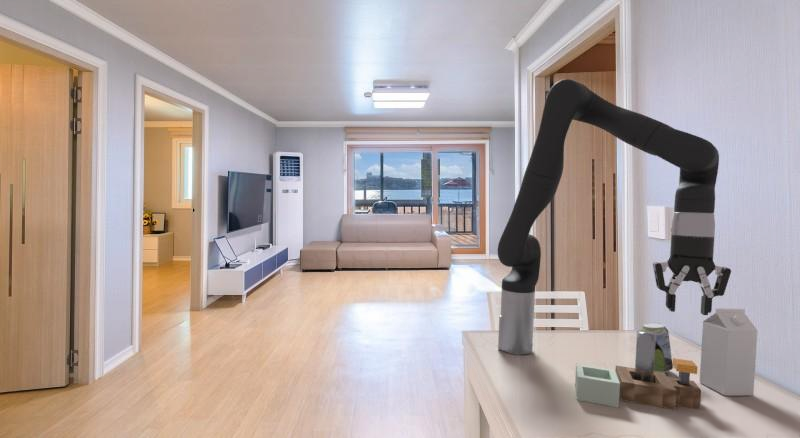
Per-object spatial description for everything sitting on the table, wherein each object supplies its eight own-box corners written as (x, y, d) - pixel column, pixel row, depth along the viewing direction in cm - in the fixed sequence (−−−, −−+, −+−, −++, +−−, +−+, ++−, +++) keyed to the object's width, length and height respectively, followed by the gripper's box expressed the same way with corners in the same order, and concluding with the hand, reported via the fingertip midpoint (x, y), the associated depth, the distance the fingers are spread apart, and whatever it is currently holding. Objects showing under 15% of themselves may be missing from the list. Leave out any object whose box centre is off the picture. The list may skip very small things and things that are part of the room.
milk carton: (699, 382, 100) (703, 304, 99) (726, 382, 100) (731, 305, 100) (724, 396, 93) (729, 312, 92) (753, 396, 93) (759, 312, 93)
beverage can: (676, 376, 103) (679, 329, 102) (644, 373, 104) (647, 326, 104) (666, 367, 109) (668, 322, 109) (635, 364, 110) (638, 319, 110)
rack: (576, 399, 88) (577, 376, 88) (575, 384, 96) (576, 363, 96) (618, 407, 86) (619, 383, 85) (613, 391, 93) (614, 369, 93)
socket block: (621, 400, 89) (622, 381, 89) (614, 382, 98) (615, 365, 98) (704, 414, 84) (705, 395, 84) (689, 394, 93) (690, 376, 93)
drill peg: (635, 396, 91) (638, 333, 90) (632, 390, 94) (635, 329, 94) (654, 399, 90) (657, 336, 89) (650, 393, 93) (653, 331, 92)
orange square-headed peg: (675, 389, 88) (677, 363, 88) (671, 383, 91) (672, 358, 91) (695, 392, 87) (697, 366, 87) (690, 386, 90) (692, 360, 90)
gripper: (657, 233, 87) (653, 312, 88) (741, 237, 82) (735, 321, 83) (650, 231, 94) (645, 305, 95) (726, 235, 89) (721, 312, 90)
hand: (687, 312), depth 89 cm, fingers open, 5 cm apart
